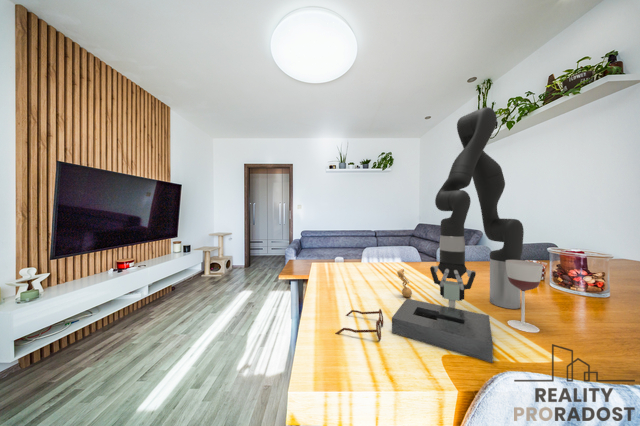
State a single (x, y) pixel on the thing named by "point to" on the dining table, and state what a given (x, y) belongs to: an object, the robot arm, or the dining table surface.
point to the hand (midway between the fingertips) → (451, 298)
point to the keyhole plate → (445, 328)
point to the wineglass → (523, 286)
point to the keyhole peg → (452, 292)
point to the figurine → (405, 290)
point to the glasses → (366, 330)
